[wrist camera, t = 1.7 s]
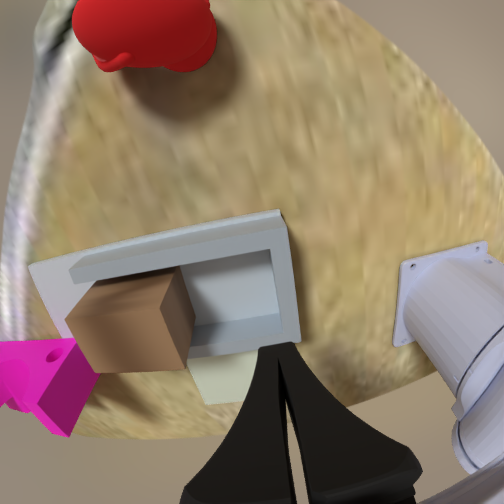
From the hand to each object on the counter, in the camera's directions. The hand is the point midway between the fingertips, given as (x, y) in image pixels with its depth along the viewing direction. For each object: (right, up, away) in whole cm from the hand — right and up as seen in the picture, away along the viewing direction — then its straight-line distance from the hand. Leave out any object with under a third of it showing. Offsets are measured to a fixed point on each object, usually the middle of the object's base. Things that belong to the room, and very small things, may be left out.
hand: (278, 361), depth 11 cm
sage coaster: (-2, -5, +11) cm, 12 cm away
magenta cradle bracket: (-21, -7, +10) cm, 25 cm away
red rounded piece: (-7, +17, +2) cm, 18 cm away
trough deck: (-8, +2, +8) cm, 11 cm away
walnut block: (-8, +1, +7) cm, 11 cm away
